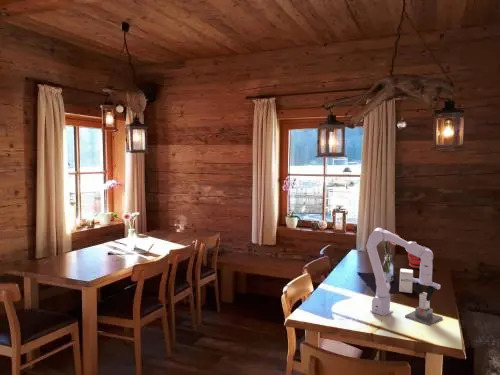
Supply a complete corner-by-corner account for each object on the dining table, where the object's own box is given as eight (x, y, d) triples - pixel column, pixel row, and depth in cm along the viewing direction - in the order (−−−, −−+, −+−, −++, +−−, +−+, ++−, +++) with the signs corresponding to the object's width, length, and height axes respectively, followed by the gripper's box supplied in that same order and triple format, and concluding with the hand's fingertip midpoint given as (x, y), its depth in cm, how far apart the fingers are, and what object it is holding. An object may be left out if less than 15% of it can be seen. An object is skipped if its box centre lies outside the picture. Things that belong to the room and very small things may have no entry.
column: (425, 312, 207) (426, 295, 206) (418, 310, 210) (419, 293, 209) (429, 310, 209) (430, 293, 209) (422, 308, 212) (423, 291, 211)
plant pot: (429, 267, 303) (430, 251, 302) (421, 270, 294) (421, 253, 293) (413, 263, 313) (413, 247, 312) (404, 266, 304) (404, 250, 303)
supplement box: (399, 291, 249) (399, 271, 248) (399, 288, 256) (400, 268, 255) (412, 293, 246) (413, 272, 245) (412, 289, 253) (413, 269, 252)
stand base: (429, 325, 201) (430, 315, 200) (405, 317, 211) (405, 307, 210) (442, 318, 209) (443, 309, 209) (418, 311, 219) (418, 301, 219)
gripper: (408, 271, 211) (407, 296, 212) (436, 278, 200) (434, 305, 201) (415, 268, 215) (414, 293, 217) (443, 275, 204) (441, 301, 205)
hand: (424, 299), depth 209 cm, fingers closed on column, 4 cm apart
